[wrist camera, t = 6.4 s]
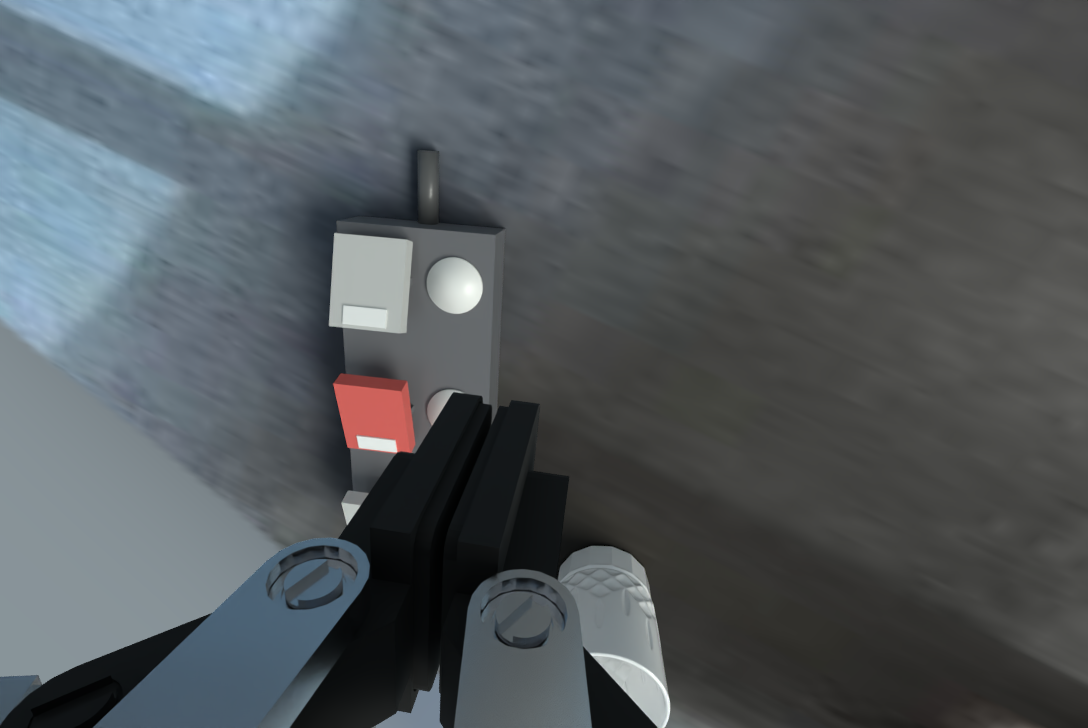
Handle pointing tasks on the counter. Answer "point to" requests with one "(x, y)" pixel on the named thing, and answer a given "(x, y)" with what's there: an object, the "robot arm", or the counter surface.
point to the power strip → (433, 316)
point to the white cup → (620, 623)
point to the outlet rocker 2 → (375, 413)
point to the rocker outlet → (352, 503)
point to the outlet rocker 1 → (370, 283)
